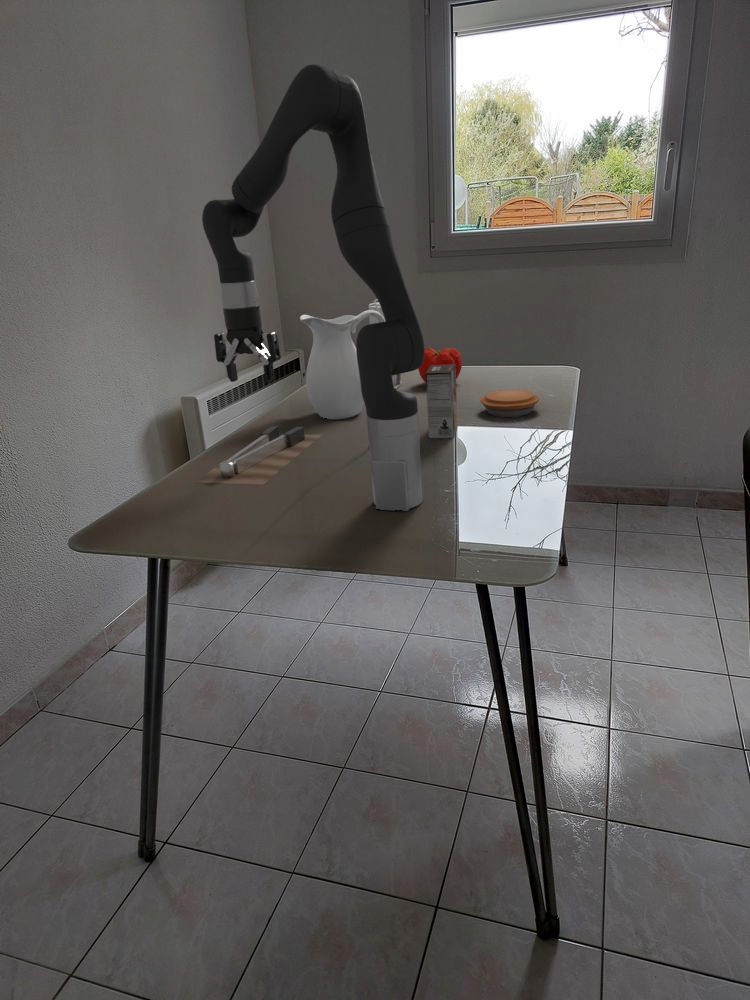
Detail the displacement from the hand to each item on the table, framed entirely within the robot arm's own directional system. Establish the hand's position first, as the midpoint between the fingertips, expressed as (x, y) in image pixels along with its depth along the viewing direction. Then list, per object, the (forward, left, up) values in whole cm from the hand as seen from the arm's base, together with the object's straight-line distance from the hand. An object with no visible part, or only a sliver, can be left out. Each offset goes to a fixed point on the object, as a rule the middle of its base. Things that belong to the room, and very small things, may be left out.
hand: (251, 381), depth 145 cm
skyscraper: (+74, -8, -20) cm, 77 cm away
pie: (+46, -50, -20) cm, 71 cm away
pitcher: (+44, -6, -20) cm, 49 cm away
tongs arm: (+2, -1, -18) cm, 18 cm away
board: (+1, +1, -19) cm, 19 cm away
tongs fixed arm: (+1, +3, -18) cm, 18 cm away
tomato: (+78, -25, -20) cm, 85 cm away
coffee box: (+26, -36, -20) cm, 49 cm away
